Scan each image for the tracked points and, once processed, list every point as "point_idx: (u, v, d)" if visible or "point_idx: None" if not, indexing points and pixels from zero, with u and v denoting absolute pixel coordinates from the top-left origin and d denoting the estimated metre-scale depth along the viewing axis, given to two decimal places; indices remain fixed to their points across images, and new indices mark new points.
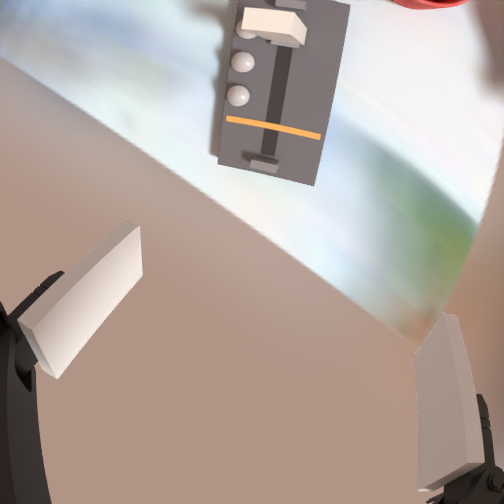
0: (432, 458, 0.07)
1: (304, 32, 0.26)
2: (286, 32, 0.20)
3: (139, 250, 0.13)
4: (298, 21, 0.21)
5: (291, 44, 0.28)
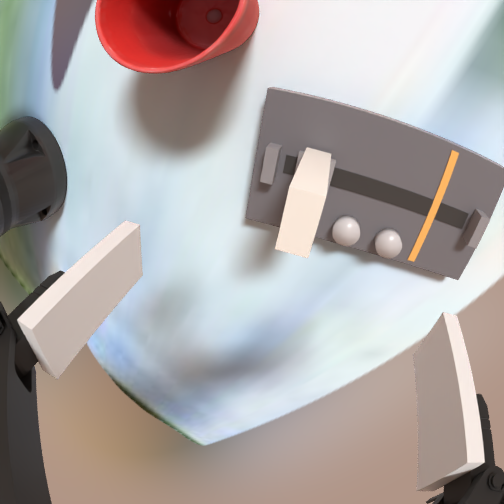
0: (432, 458, 0.07)
1: (313, 153, 0.23)
2: (322, 201, 0.16)
3: (139, 250, 0.13)
4: (301, 172, 0.19)
5: (330, 170, 0.24)
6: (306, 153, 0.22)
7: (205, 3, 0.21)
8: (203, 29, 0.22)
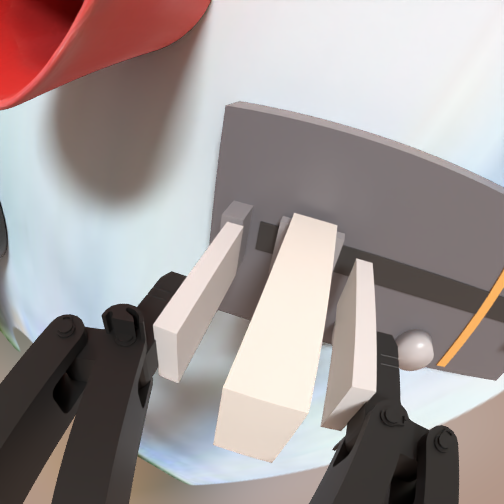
0: (332, 391, 0.10)
1: (305, 231, 0.13)
2: (298, 418, 0.07)
3: (239, 250, 0.14)
4: (267, 312, 0.09)
5: (333, 252, 0.14)
6: (290, 233, 0.13)
7: None
8: None
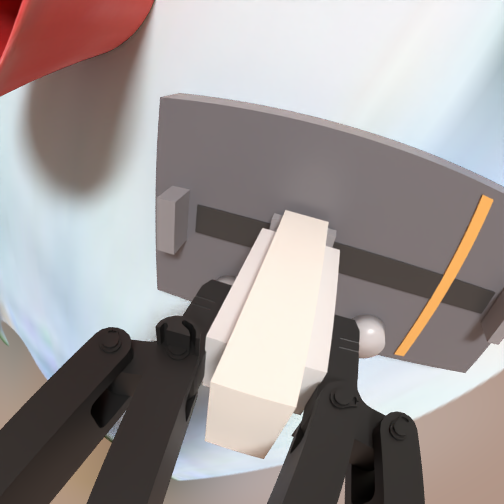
0: None
1: (295, 228, 0.13)
2: (286, 412, 0.07)
3: None
4: (255, 308, 0.09)
5: None
6: (281, 230, 0.13)
7: None
8: None
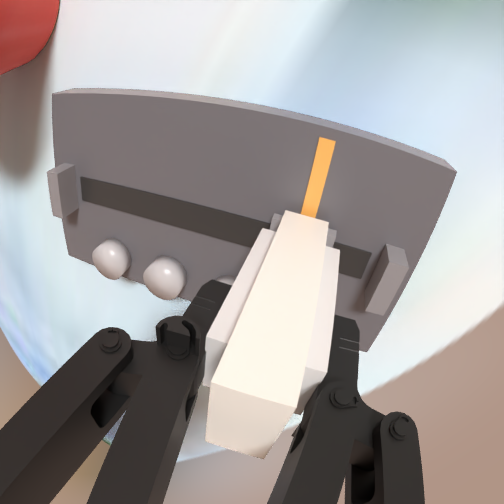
0: None
1: (295, 228, 0.13)
2: (287, 413, 0.07)
3: None
4: (256, 308, 0.09)
5: None
6: (281, 230, 0.13)
7: None
8: None
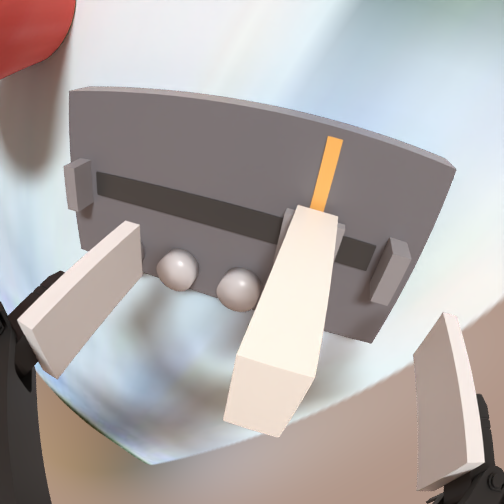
0: (432, 458, 0.07)
1: (308, 221, 0.14)
2: (306, 384, 0.07)
3: (139, 250, 0.13)
4: (274, 290, 0.10)
5: (334, 242, 0.15)
6: (294, 223, 0.13)
7: None
8: None
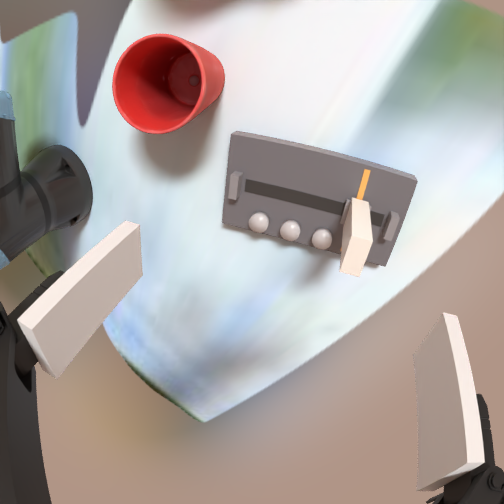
0: (432, 458, 0.07)
1: (358, 203, 0.33)
2: (370, 244, 0.27)
3: (139, 250, 0.13)
4: (355, 222, 0.29)
5: None
6: (353, 204, 0.33)
7: (187, 71, 0.33)
8: (187, 90, 0.35)
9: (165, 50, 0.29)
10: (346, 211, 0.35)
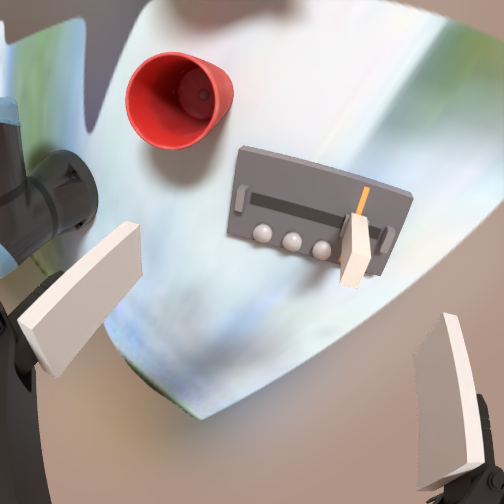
0: (432, 458, 0.07)
1: (357, 219, 0.36)
2: (368, 260, 0.30)
3: (139, 250, 0.13)
4: (354, 239, 0.32)
5: None
6: (353, 219, 0.35)
7: (197, 85, 0.35)
8: (196, 104, 0.37)
9: (176, 65, 0.31)
10: (345, 225, 0.38)
